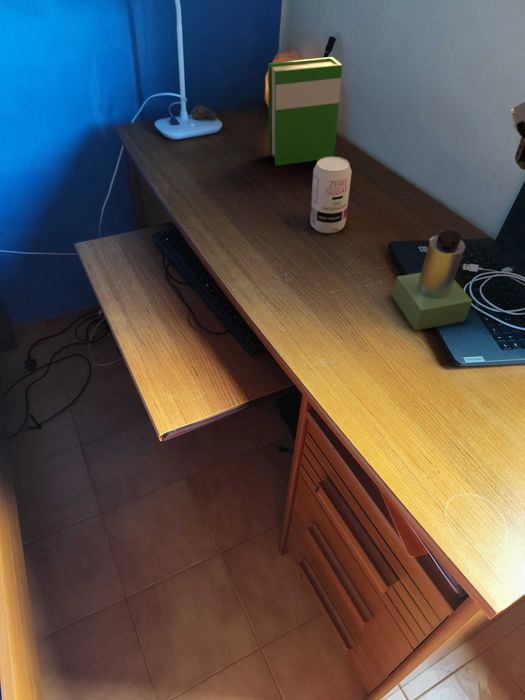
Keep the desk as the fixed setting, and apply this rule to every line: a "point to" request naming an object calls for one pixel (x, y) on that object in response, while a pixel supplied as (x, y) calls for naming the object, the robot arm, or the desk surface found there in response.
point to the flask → (441, 264)
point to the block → (430, 304)
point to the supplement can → (330, 194)
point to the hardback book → (303, 109)
